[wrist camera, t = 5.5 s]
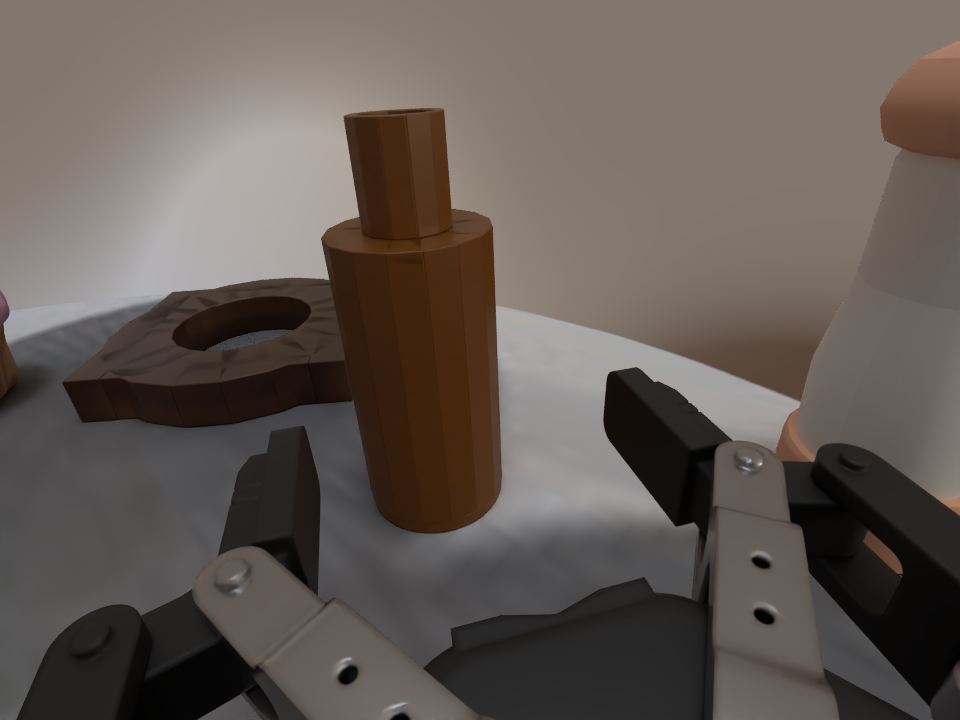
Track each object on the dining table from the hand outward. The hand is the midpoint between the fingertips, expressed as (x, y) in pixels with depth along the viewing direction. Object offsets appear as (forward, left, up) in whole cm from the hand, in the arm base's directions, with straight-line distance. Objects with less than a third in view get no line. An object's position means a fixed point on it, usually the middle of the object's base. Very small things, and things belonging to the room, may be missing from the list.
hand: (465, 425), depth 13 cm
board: (-16, +25, -10) cm, 31 cm away
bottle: (-2, +9, -10) cm, 13 cm away
